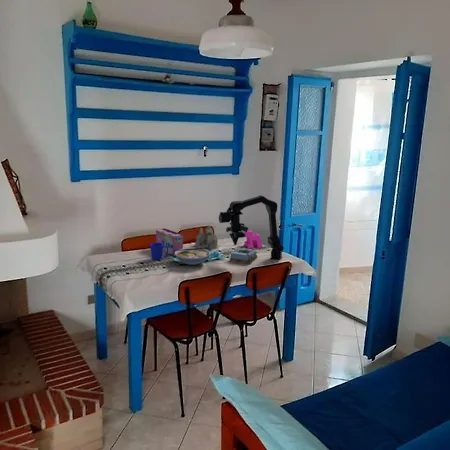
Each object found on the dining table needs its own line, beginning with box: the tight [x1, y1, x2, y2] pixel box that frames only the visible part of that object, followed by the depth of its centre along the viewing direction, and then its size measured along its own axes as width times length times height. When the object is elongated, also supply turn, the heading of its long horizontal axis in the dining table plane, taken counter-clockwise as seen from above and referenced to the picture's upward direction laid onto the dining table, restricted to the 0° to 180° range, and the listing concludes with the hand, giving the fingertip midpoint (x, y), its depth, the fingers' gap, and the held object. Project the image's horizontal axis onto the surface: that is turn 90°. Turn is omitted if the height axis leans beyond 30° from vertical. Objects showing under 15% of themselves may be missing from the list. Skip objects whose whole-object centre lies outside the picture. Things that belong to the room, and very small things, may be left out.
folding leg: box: [230, 251, 251, 261], centre depth 293 cm, size 14×3×4 cm, turn 65°
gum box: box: [155, 228, 184, 256], centre depth 315 cm, size 24×8×14 cm, turn 42°
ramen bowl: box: [172, 247, 211, 266], centre depth 289 cm, size 25×23×8 cm
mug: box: [149, 242, 169, 261], centre depth 297 cm, size 8×12×10 cm
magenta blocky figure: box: [243, 230, 263, 250], centre depth 329 cm, size 12×10×10 cm
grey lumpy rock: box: [194, 224, 219, 250], centre depth 327 cm, size 16×16×15 cm
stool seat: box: [229, 247, 258, 265], centre depth 298 cm, size 14×14×6 cm
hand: (235, 245), depth 290 cm, fingers closed
